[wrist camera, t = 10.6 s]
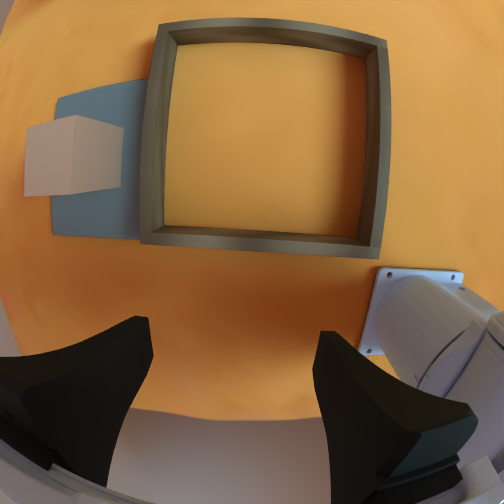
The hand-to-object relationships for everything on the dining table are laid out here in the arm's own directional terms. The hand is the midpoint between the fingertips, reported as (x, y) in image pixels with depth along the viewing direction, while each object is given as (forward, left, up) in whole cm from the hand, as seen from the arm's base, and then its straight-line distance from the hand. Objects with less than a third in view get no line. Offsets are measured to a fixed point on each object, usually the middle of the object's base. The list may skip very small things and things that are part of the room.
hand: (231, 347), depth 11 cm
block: (+12, -8, -9) cm, 17 cm away
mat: (+12, -8, -9) cm, 17 cm away
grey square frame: (-1, -10, -9) cm, 14 cm away
